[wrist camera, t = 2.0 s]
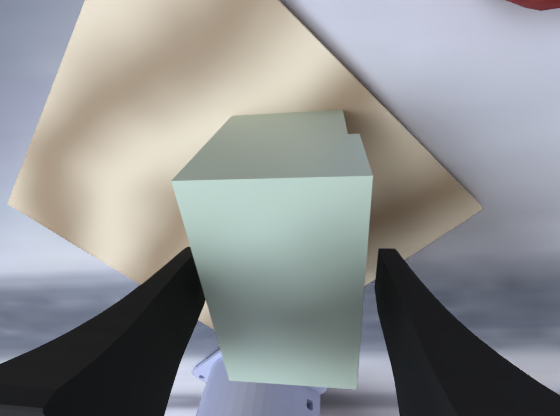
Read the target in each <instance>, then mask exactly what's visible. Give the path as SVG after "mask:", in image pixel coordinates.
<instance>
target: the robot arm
mask: <svg viewBox="0 0 560 416" xmlns="http://www.w3.org/2000/svg"><path fill="white" fill-rule="evenodd" d="M375 294H376V302H377V309H378V314H379V319H380V323H381V327H382V331H383V335H384V338H385V342H386V346H387V350H388V354H389V358H390V362H391V366H392V371H393V376H394V381H395V387H396V394H397V400H398V407H399V413H400V416H560V395H558V394H557V393H555V392H554V391H552V390H550V389H549V388H547V387H546V386H544V385H542V384H541V383H539V382H538V381H536V380H535V379H533V378H532V377H530V376H529V375H527V374H526V373H525V372H523V371H522V370H520V369H519V368H517V367H516V366H514V365H513V364H512V363H510V362H509V361H508V360H506V359H505V358H503V357H502V356H501V355H500V354H498V353H497V352H496V351H494V350H493V349H492V348H491V347H489V346H488V345H487V344H485V343H484V342H483V341H481V340H480V339H479V338H478V337H477V336H475V335H474V334H473V333H472V332H471V331H469V330H468V329H467V328H466V327H465V326H464V325H463V324H462V323H461V322H460V321H458V320H457V319H456V318H455V317H454V316H453V315H452V314H451V313H450V312H449V311H448V310H447V309H446V308H445V307H444V306H443V305H442V304H441V303H440V302H439V301H438V300H437V299H436V298H435V296H434V295H433V294H432V293H431V292H430V291H429V290H428V289H427V287H426V286H425V285H424V284H423V283H422V282H421V281H420V279H419V278H418V277H417V276H416V275H415V273H414V272H413V271H412V270H411V268H410V267H409V266H408V264H407V263H406V262H405V260H404V259H403V258H402V256H401V255H400V254H399V252H398V251H397V250H396V249H391V248H378V258H377V268H376V278H375ZM205 300H206V299H205V296H204V292H203V289H202V285H201V282H200V278H199V275H198V271H197V268H196V265H195V261H194V258H193V254H192V251H191V247H186V248H185V249H183V250H182V251H181V252H180V253H178V254H177V255H176V256H175V257H174V258H173V259H171V260H170V261H169V262H168V263H167V264H166V265H164V266H163V267H162V268H161V269H160V270H158V271H157V272H156V273H155V274H154V275H152V276H151V277H150V278H149V279H148V280H146V281H145V282H144V283H142V284H141V285H140V286H139V287H137V288H136V289H135V290H133V291H132V292H131V293H129V294H128V295H127V296H125V297H124V298H123V299H121V300H120V301H118V302H117V303H116V304H114V305H113V306H111V307H110V308H108V309H106V310H105V311H103V312H102V313H100V314H99V315H97V316H95V317H94V318H92V319H90V320H89V321H87V322H85V323H83V324H82V325H80V326H78V327H76V328H75V329H73V330H71V331H69V332H68V333H66V334H64V335H62V336H60V337H58V338H56V339H54V340H52V341H50V342H48V343H46V344H44V345H42V346H40V347H38V348H36V349H33V350H31V351H29V352H27V353H24V354H22V355H20V356H18V357H15V358H13V359H11V360H8V361H6V362H4V363H1V364H0V416H164V414H165V410H166V407H167V403H168V400H169V396H170V393H171V389H172V386H173V383H174V380H175V377H176V374H177V370H178V367H179V364H180V362H181V359H182V356H183V354H184V351H185V349H186V347H187V344H188V342H189V340H190V337H191V335H192V333H193V330H194V328H195V326H196V323H197V321H198V319H199V316H200V314H201V312H202V309H203V307H204V304H205ZM192 374H193V376H195V377H197V378H199V379H200V380H202V381H204V382H206V386H205V389H204V392H203V395H202V398H201V401H200V405H199V408H198V411H197V414H196V416H320V394H322V393H325V392H326V391H327V387H313V386H299V385H285V384H270V383H256V382H242V381H229V378H228V374H227V371H226V368H225V364H224V361H223V357H222V354H221V350H218V351H217V352H215V353H214V354H213V355H211V356H210V357H209V358H207V359H206V360H204V361H203V362H202V363H200V364H199V365H198V366H196V367H195V368H194V369H193V371H192Z"/></svg>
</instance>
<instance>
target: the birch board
mask: <svg viewBox="0 0 560 416" xmlns="http://www.w3.org/2000/svg"><path fill="white" fill-rule="evenodd" d="M328 110H343V113H344V118H345V123H346V127H347V132H348V134H360V137H361V140H362V143H363V146H364V149H365V152H366V156H367V159H368V162H369V165H370V168H371V171H372V174H373V182H372V195H371V208H370V221H369V234H368V247H367V260H366V274H365V285H367V284H369V283H370V282H372V281H373V280H375V278H376V268H377V258H378V248H391V249H396V250H397V251H398V252H399V254H400V255H401V256H402V258H403V259H404V260H406V259H407V258H409V257H410V256H412V255H413V254H415V253H416V252H418V251H419V250H421V249H423V248H424V247H426V246H427V245H429V244H430V243H432V242H433V241H435V240H436V239H438V238H439V237H441V236H443V235H444V234H446V233H447V232H449V231H450V230H452V229H453V228H455V227H456V226H458V225H460V224H461V223H463V222H464V221H466V220H467V219H469V218H470V217H472V216H473V215H475V214H477V213H478V212H480V211H481V210H483V207H482V206H481V205H480V204H479V203H478V202H477V200H476V199H475V198H474V197H473V196H472V195H471V194H470V193H469V192H468V191H467V190H466V189H465V188H464V187H463V186H462V185H461V184H460V183H459V182H458V181H457V180H456V179H455V178H454V177H453V176H452V175H451V174H450V173H449V172H448V171H447V170H446V169H445V168H444V167H443V166H442V165H441V164H440V163H439V162H438V161H437V160H436V159H435V157H434V156H433V155H432V154H431V153H430V152H429V151H428V150H427V149H426V148H425V147H424V146H423V145H422V144H421V143H420V142H419V141H418V140H417V139H416V138H415V137H414V136H413V135H412V134H411V133H410V132H409V131H408V130H407V129H406V128H405V127H404V126H403V125H402V124H401V123H400V122H399V121H398V120H397V119H396V118H395V117H394V116H393V115H392V114H391V113H390V112H389V111H388V110H387V109H386V108H385V107H384V106H383V105H382V104H381V103H380V102H379V101H378V100H377V99H376V98H375V97H374V96H373V95H372V93H371V92H370V91H369V90H368V89H367V88H366V87H365V86H364V85H363V84H362V83H361V82H360V81H359V80H358V79H357V78H356V77H355V76H354V75H353V74H352V73H351V72H350V71H349V70H348V69H347V68H346V67H345V66H344V65H343V64H342V63H341V62H340V61H339V60H338V59H337V58H336V57H335V56H334V55H333V54H332V53H331V52H330V51H329V50H328V49H327V48H326V47H325V46H324V45H323V44H322V43H321V42H320V41H319V40H318V39H317V38H316V37H315V36H314V35H313V34H312V33H311V32H310V31H309V29H308V28H307V27H306V26H305V25H304V24H303V23H302V22H301V21H300V20H299V19H298V18H297V17H296V16H295V15H294V14H293V13H292V12H291V11H290V10H289V9H288V8H287V7H286V6H285V5H284V4H283V3H282V2H281V1H280V0H85V2H84V4H83V7H82V10H81V12H80V15H79V17H78V20H77V23H76V25H75V28H74V31H73V33H72V36H71V38H70V41H69V44H68V46H67V49H66V52H65V54H64V57H63V59H62V62H61V65H60V67H59V70H58V73H57V75H56V78H55V80H54V83H53V86H52V88H51V91H50V94H49V96H48V99H47V101H46V104H45V107H44V109H43V112H42V115H41V117H40V120H39V122H38V125H37V128H36V130H35V133H34V136H33V138H32V141H31V143H30V146H29V149H28V151H27V154H26V157H25V159H24V162H23V164H22V167H21V170H20V172H19V175H18V178H17V180H16V183H15V185H14V188H13V191H12V193H11V196H10V199H9V201H8V205H10V206H12V207H13V208H15V209H17V210H18V211H20V212H21V213H23V214H25V215H26V216H28V217H30V218H31V219H33V220H35V221H36V222H38V223H40V224H41V225H43V226H44V227H46V228H48V229H49V230H51V231H53V232H54V233H56V234H58V235H59V236H61V237H63V238H64V239H66V240H68V241H69V242H71V243H72V244H74V245H76V246H77V247H79V248H81V249H82V250H84V251H86V252H87V253H89V254H91V255H92V256H94V257H95V258H97V259H99V260H100V261H102V262H104V263H105V264H107V265H109V266H110V267H112V268H114V269H115V270H117V271H118V272H120V273H122V274H123V275H125V276H127V277H128V278H130V279H132V280H133V281H135V282H137V283H138V284H140V285H141V284H142V283H144V282H145V281H146V280H148V279H149V278H150V277H151V276H152V275H154V274H155V273H156V272H157V271H158V270H160V269H161V268H162V267H163V266H164V265H166V264H167V263H168V262H169V261H170V260H171V259H173V258H174V257H175V256H176V255H177V254H178V253H180V252H181V251H182V250H183V249H185V248H186V247H190V244H189V241H188V237H187V234H186V230H185V227H184V223H183V220H182V217H181V213H180V210H179V206H178V203H177V199H176V196H175V193H174V189H173V186H172V182H171V181H172V179H173V178H174V177H175V176H176V175H177V174H178V173H179V172H180V171H181V170H182V169H183V168H184V167H185V165H186V164H187V163H188V162H189V161H190V160H191V159H192V158H193V157H194V156H195V155H196V154H197V153H198V152H199V150H200V149H201V148H202V147H203V146H204V145H205V144H206V143H207V142H208V141H209V140H210V139H211V138H212V136H213V135H214V134H215V133H216V132H217V131H218V130H219V129H220V128H221V127H222V126H223V125H224V124H225V123H226V121H227V120H228V119H229V118H230V117H231V116H238V115H256V114H274V113H292V112H310V111H328ZM198 320H199V321H201V322H202V323H204V324H206V325H207V326H209V327H211V328H212V329H214V326H213V323H212V320H211V316H210V313H209V309H208V306H207V302H206V300H205V304H204V307H203V309H202V312H201V314H200V316H199V319H198Z"/></svg>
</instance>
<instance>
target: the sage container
mask: <svg viewBox="0 0 560 416" xmlns="http://www.w3.org/2000/svg"><path fill="white" fill-rule="evenodd" d="M171 182H172V186H173V189H174V193H175V196H176V199H177V203H178V206H179V210H180V213H181V217H182V220H183V223H184V227H185V230H186V234H187V237H188V241H189V244H190V247H191V251H192V254H193V258H194V261H195V265H196V268H197V271H198V275H199V278H200V282H201V285H202V289H203V292H204V296H205V299H206V302H207V306H208V309H209V313H210V316H211V320H212V323H213V326H214V330H215V333H216V337H217V340H218V344H219V347H220V350H221V354H222V357H223V361H224V364H225V368H226V371H227V374H228V378H229V381H242V382H256V383H270V384H285V385H299V386H313V387H327V388H341V389H356V390H357V378H358V365H359V352H360V339H361V326H362V313H363V300H364V287H365V274H366V260H367V247H368V234H369V221H370V208H371V195H372V182H373V174H372V171H371V168H370V165H369V162H368V159H367V156H366V152H365V149H364V146H363V143H362V140H361V137H360V134H348V132H347V127H346V123H345V118H344V113H343V110H328V111H310V112H292V113H274V114H256V115H238V116H231V117H230V118H229V119H228V120H227V121H226V123H225V124H224V125H223V126H222V127H221V128H220V129H219V130H218V131H217V132H216V133H215V134H214V135H213V136H212V138H211V139H210V140H209V141H208V142H207V143H206V144H205V145H204V146H203V147H202V148H201V149H200V150H199V152H198V153H197V154H196V155H195V156H194V157H193V158H192V159H191V160H190V161H189V162H188V163H187V164H186V165H185V167H184V168H183V169H182V170H181V171H180V172H179V173H178V174H177V175H176V176H175V177H174V178H173V179H172V181H171Z"/></svg>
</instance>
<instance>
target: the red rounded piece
mask: <svg viewBox="0 0 560 416" xmlns="http://www.w3.org/2000/svg"><path fill="white" fill-rule="evenodd" d="M507 1H509V2H512V3H515V4H517V5H520V6H523V7H525V8H530V9H535V10H540V11H542V10H548V9H555V8H560V0H507Z"/></svg>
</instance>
